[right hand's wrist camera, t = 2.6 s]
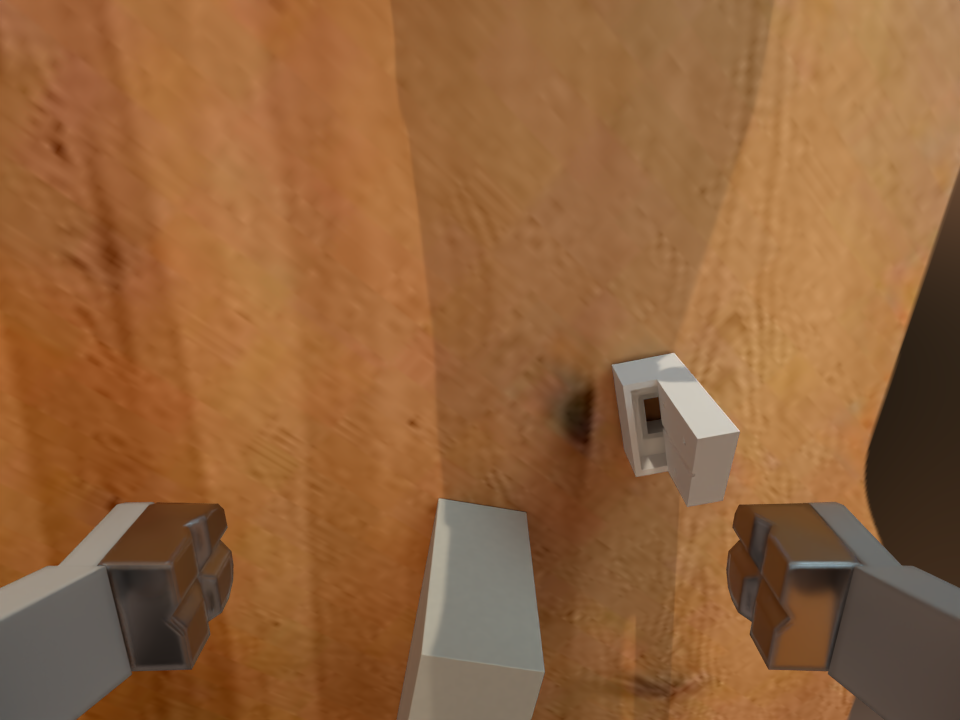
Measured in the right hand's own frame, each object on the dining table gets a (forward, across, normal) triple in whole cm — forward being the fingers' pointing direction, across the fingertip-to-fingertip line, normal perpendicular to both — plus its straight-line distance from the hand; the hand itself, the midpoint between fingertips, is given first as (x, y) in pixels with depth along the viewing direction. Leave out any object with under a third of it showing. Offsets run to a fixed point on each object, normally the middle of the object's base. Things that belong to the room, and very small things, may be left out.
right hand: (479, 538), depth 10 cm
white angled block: (+27, +10, -10) cm, 30 cm away
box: (+27, -2, -28) cm, 38 cm away
